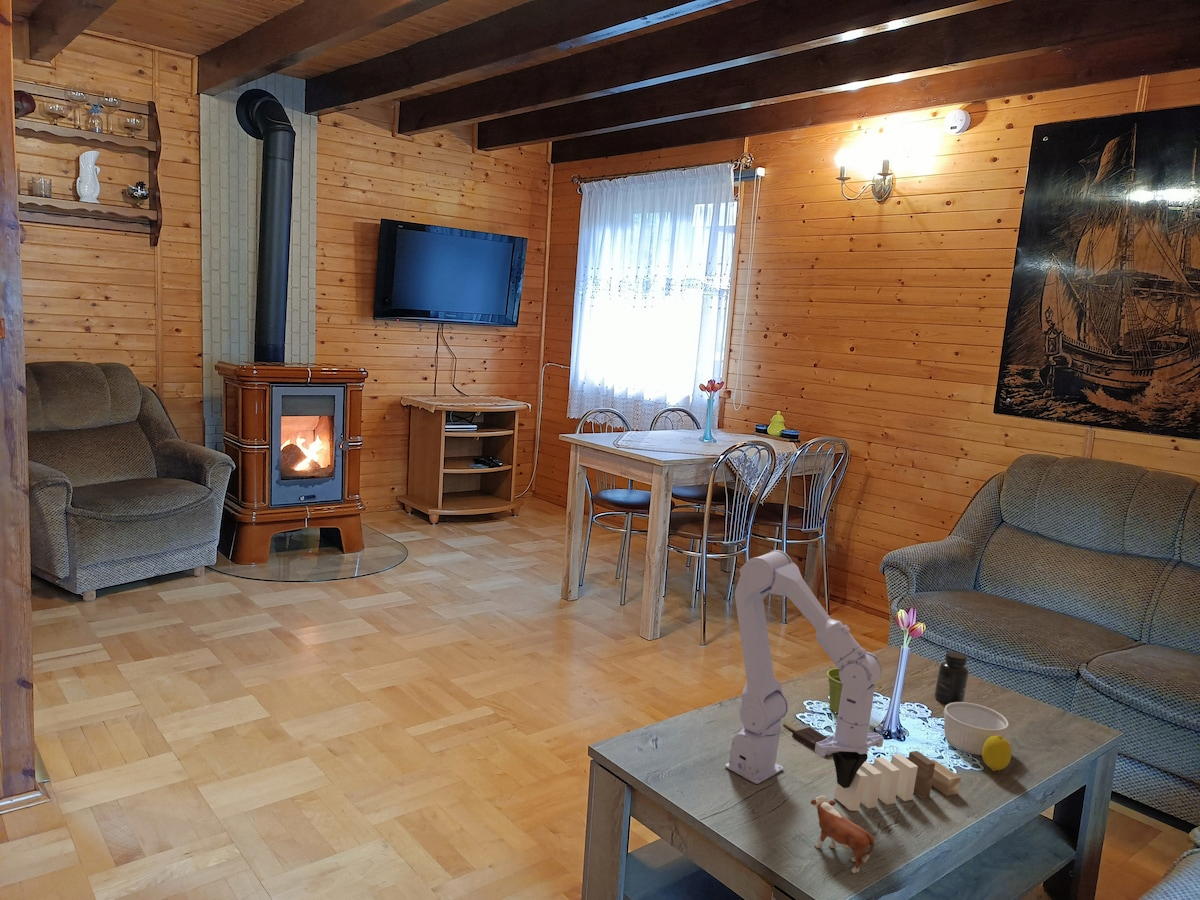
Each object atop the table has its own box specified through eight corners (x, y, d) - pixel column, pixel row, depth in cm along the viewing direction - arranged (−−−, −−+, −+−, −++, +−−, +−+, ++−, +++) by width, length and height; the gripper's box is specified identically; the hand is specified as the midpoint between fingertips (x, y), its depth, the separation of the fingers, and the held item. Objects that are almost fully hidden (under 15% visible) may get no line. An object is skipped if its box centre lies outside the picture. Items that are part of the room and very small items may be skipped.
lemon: (1005, 780, 179) (1012, 745, 178) (977, 771, 182) (983, 735, 180) (1009, 770, 184) (1016, 735, 182) (981, 760, 186) (987, 726, 185)
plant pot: (815, 710, 203) (821, 675, 201) (830, 697, 211) (835, 664, 209) (855, 724, 198) (860, 689, 196) (868, 710, 205) (873, 676, 204)
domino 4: (904, 801, 168) (910, 767, 166) (886, 787, 172) (892, 755, 171) (912, 799, 169) (917, 766, 167) (894, 786, 173) (899, 753, 172)
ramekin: (942, 751, 189) (947, 721, 188) (936, 724, 202) (941, 696, 201) (1008, 765, 186) (1013, 735, 185) (997, 737, 198) (1003, 708, 197)
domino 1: (850, 810, 162) (860, 775, 161) (833, 796, 166) (843, 762, 166) (858, 810, 163) (868, 776, 162) (841, 796, 167) (851, 762, 166)
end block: (946, 795, 171) (949, 779, 170) (920, 777, 177) (923, 761, 177) (958, 793, 172) (960, 777, 172) (931, 774, 178) (934, 759, 178)
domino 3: (886, 804, 166) (892, 771, 165) (869, 791, 170) (874, 758, 169) (894, 803, 167) (900, 769, 165) (877, 789, 171) (882, 756, 170)
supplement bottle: (967, 708, 212) (976, 662, 210) (940, 705, 212) (948, 659, 210) (956, 695, 219) (964, 650, 217) (930, 692, 219) (937, 648, 217)
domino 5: (921, 797, 170) (927, 764, 168) (904, 784, 174) (909, 752, 173) (929, 795, 170) (935, 763, 169) (911, 782, 175) (917, 750, 173)
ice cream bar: (775, 728, 193) (827, 760, 181) (776, 721, 193) (828, 753, 181) (792, 723, 196) (844, 754, 184) (793, 716, 196) (845, 747, 184)
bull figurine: (815, 828, 156) (821, 787, 154) (874, 873, 145) (882, 829, 143) (797, 835, 153) (804, 792, 152) (856, 881, 142) (864, 836, 141)
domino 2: (868, 808, 164) (873, 774, 163) (851, 794, 168) (856, 761, 167) (876, 806, 165) (882, 773, 164) (859, 793, 169) (864, 760, 168)
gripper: (836, 733, 154) (826, 802, 157) (898, 723, 160) (887, 790, 163) (811, 714, 161) (802, 781, 163) (872, 706, 167) (862, 770, 169)
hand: (843, 785), depth 163 cm, fingers closed
